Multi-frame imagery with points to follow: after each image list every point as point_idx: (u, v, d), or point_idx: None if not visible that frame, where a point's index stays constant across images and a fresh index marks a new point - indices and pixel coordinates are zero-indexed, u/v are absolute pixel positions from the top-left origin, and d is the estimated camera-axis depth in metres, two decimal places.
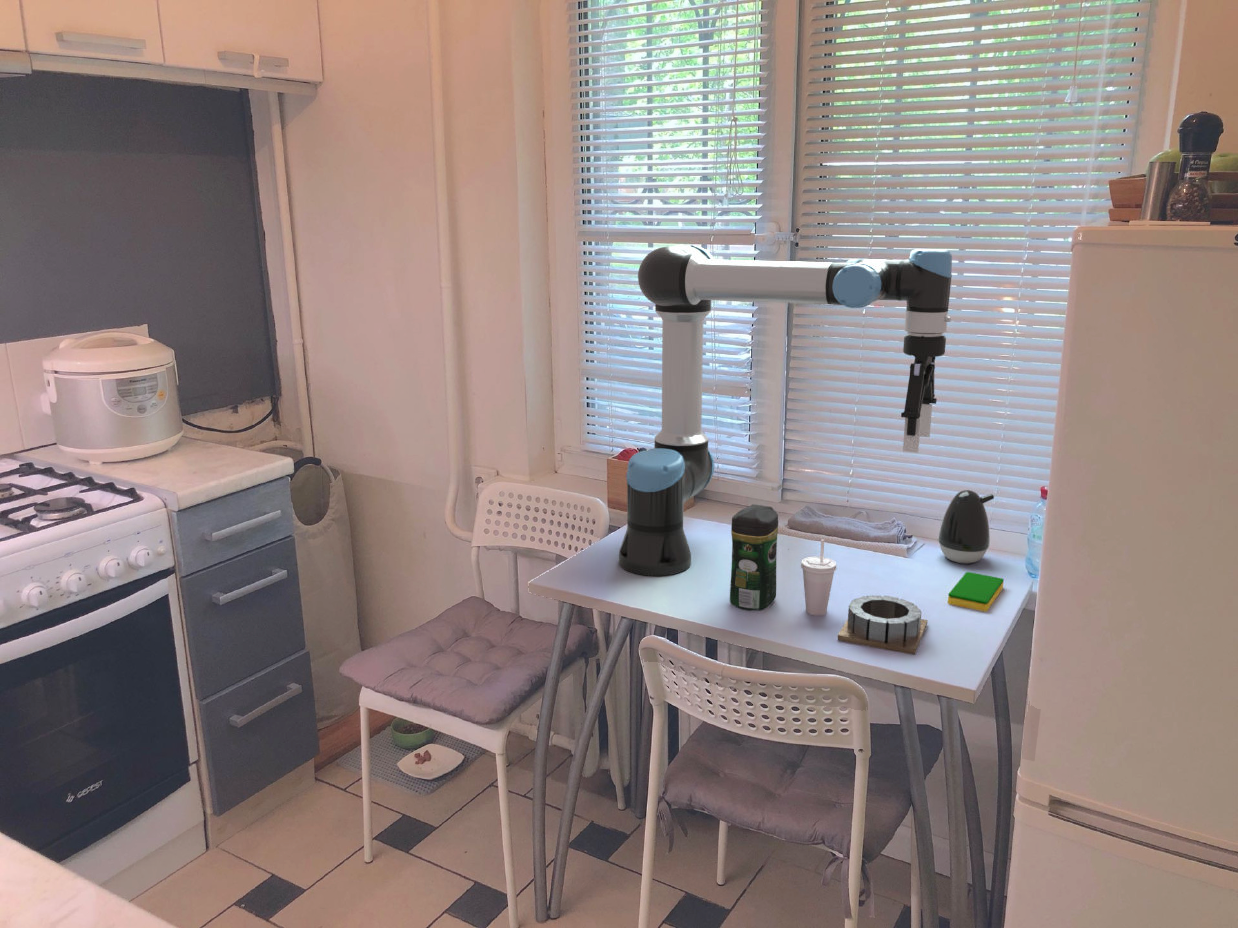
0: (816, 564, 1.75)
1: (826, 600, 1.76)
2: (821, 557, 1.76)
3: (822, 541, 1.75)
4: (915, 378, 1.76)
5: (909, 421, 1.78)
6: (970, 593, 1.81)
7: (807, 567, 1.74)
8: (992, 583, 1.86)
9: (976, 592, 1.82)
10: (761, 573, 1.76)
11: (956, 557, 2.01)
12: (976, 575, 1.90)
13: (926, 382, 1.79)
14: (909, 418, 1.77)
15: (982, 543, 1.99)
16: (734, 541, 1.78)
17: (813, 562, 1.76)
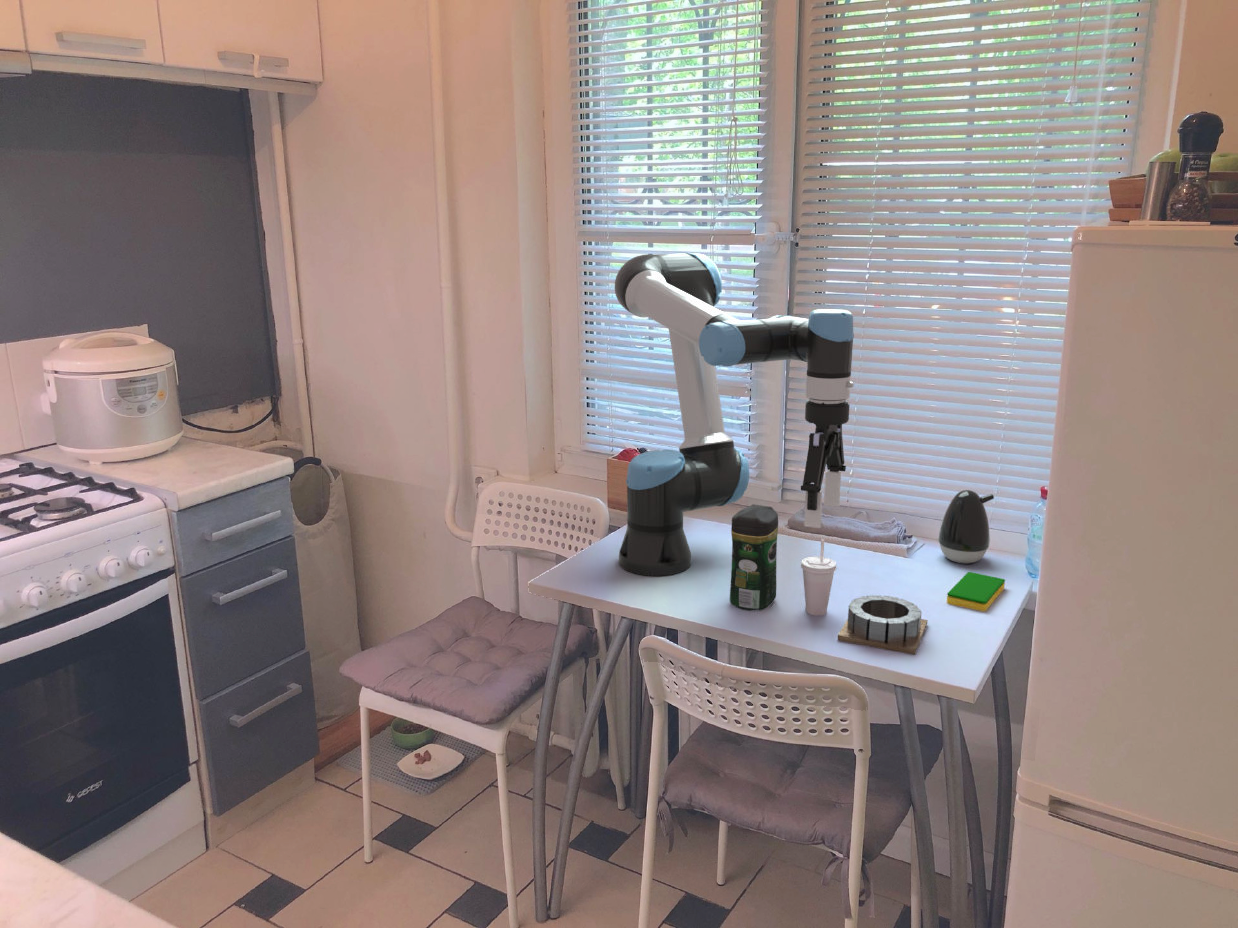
0: (816, 564, 1.75)
1: (826, 600, 1.76)
2: (821, 557, 1.76)
3: (822, 541, 1.75)
4: (814, 449, 1.64)
5: (809, 495, 1.65)
6: (969, 593, 1.82)
7: (807, 567, 1.74)
8: (993, 583, 1.86)
9: (975, 592, 1.82)
10: (761, 573, 1.76)
11: (956, 557, 2.01)
12: (977, 575, 1.90)
13: (828, 452, 1.66)
14: (809, 492, 1.65)
15: (982, 543, 1.99)
16: (734, 541, 1.78)
17: (813, 562, 1.76)
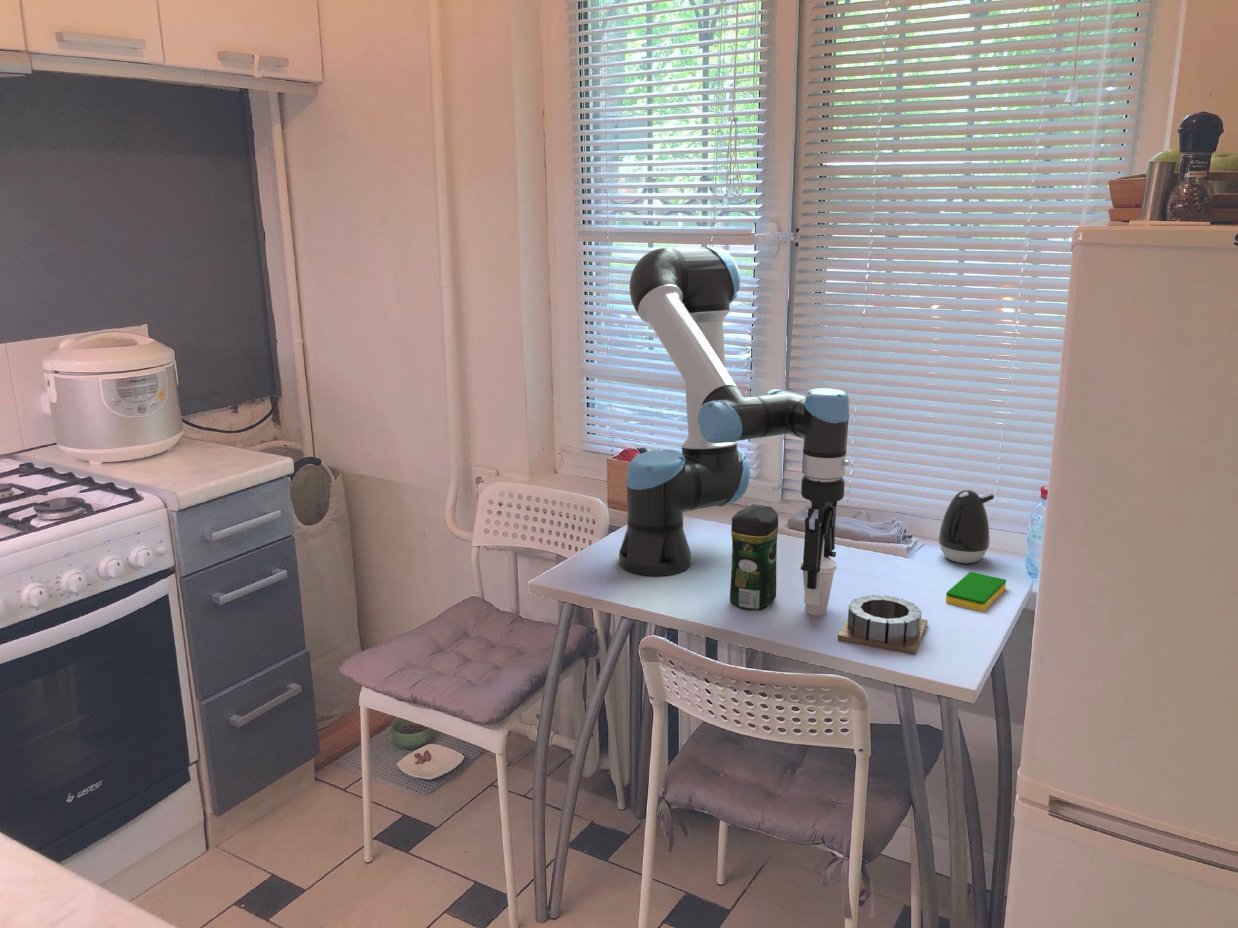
0: None
1: (826, 600, 1.76)
2: (821, 557, 1.76)
3: None
4: (811, 533, 1.69)
5: (809, 574, 1.72)
6: (968, 593, 1.82)
7: None
8: (993, 584, 1.86)
9: (975, 592, 1.82)
10: (761, 573, 1.76)
11: (956, 557, 2.01)
12: (979, 575, 1.90)
13: (824, 531, 1.71)
14: (809, 572, 1.72)
15: (982, 543, 1.99)
16: (734, 541, 1.78)
17: None
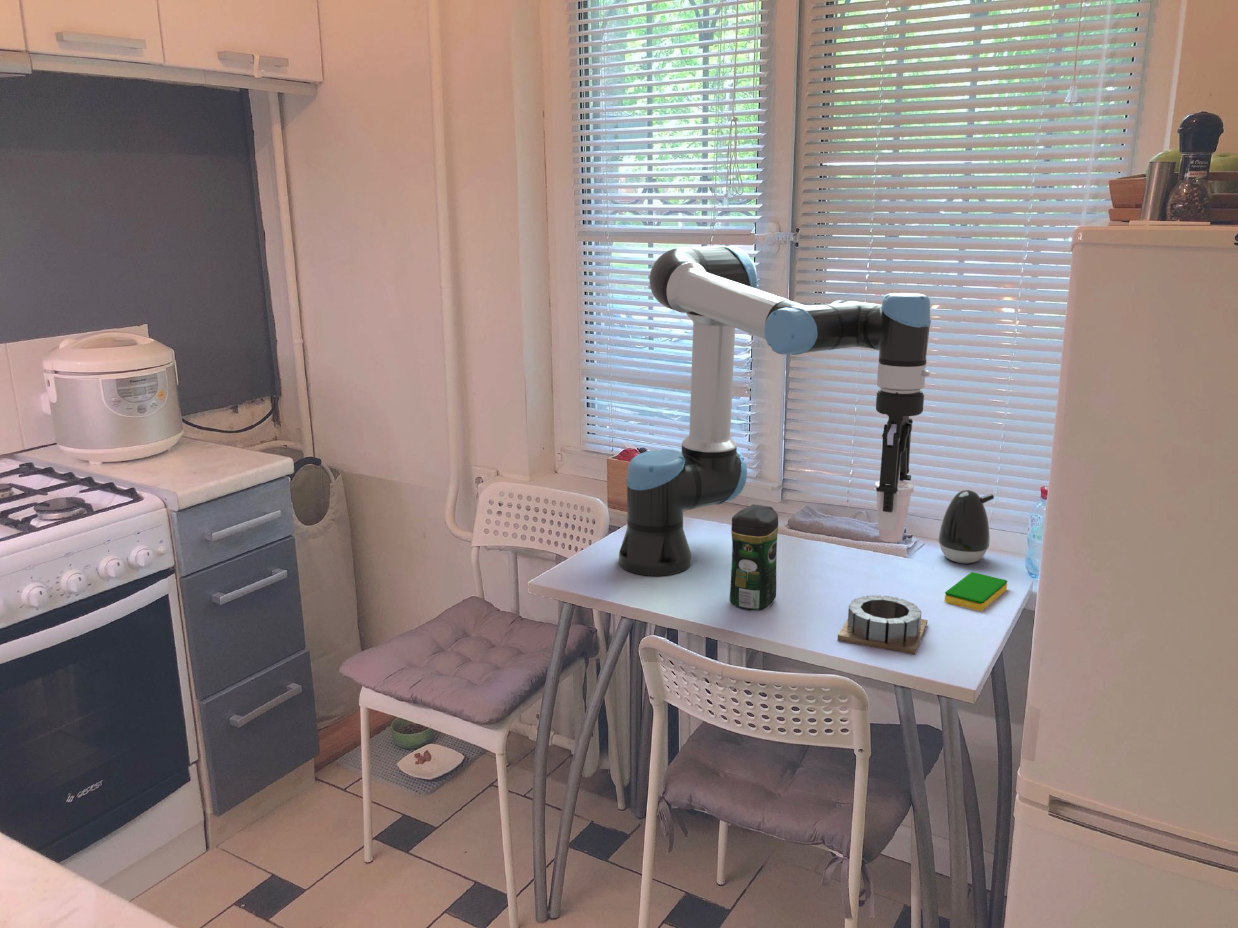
0: None
1: (902, 525, 1.63)
2: None
3: None
4: (889, 449, 1.55)
5: (885, 496, 1.58)
6: (967, 592, 1.82)
7: None
8: (994, 584, 1.86)
9: (974, 591, 1.82)
10: (761, 573, 1.76)
11: (956, 557, 2.01)
12: (980, 575, 1.90)
13: (902, 449, 1.58)
14: (885, 493, 1.58)
15: (982, 543, 1.99)
16: (734, 541, 1.78)
17: (888, 484, 1.62)
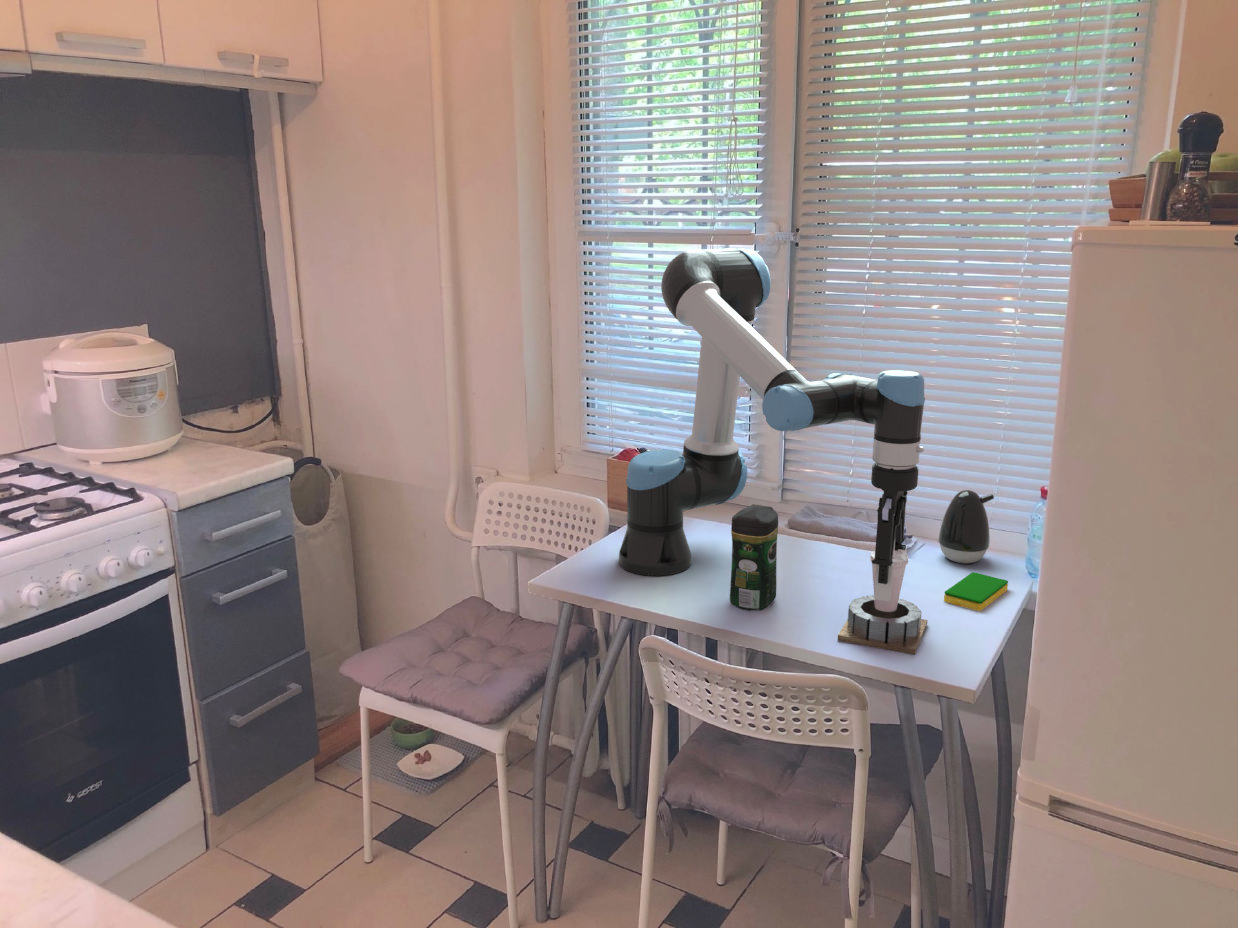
0: None
1: (897, 595, 1.66)
2: None
3: None
4: (884, 524, 1.58)
5: (880, 568, 1.62)
6: (967, 592, 1.82)
7: None
8: (994, 584, 1.86)
9: (974, 591, 1.82)
10: (761, 573, 1.76)
11: (956, 557, 2.01)
12: (981, 576, 1.90)
13: (897, 522, 1.61)
14: (880, 565, 1.61)
15: (982, 543, 1.99)
16: (734, 541, 1.78)
17: None
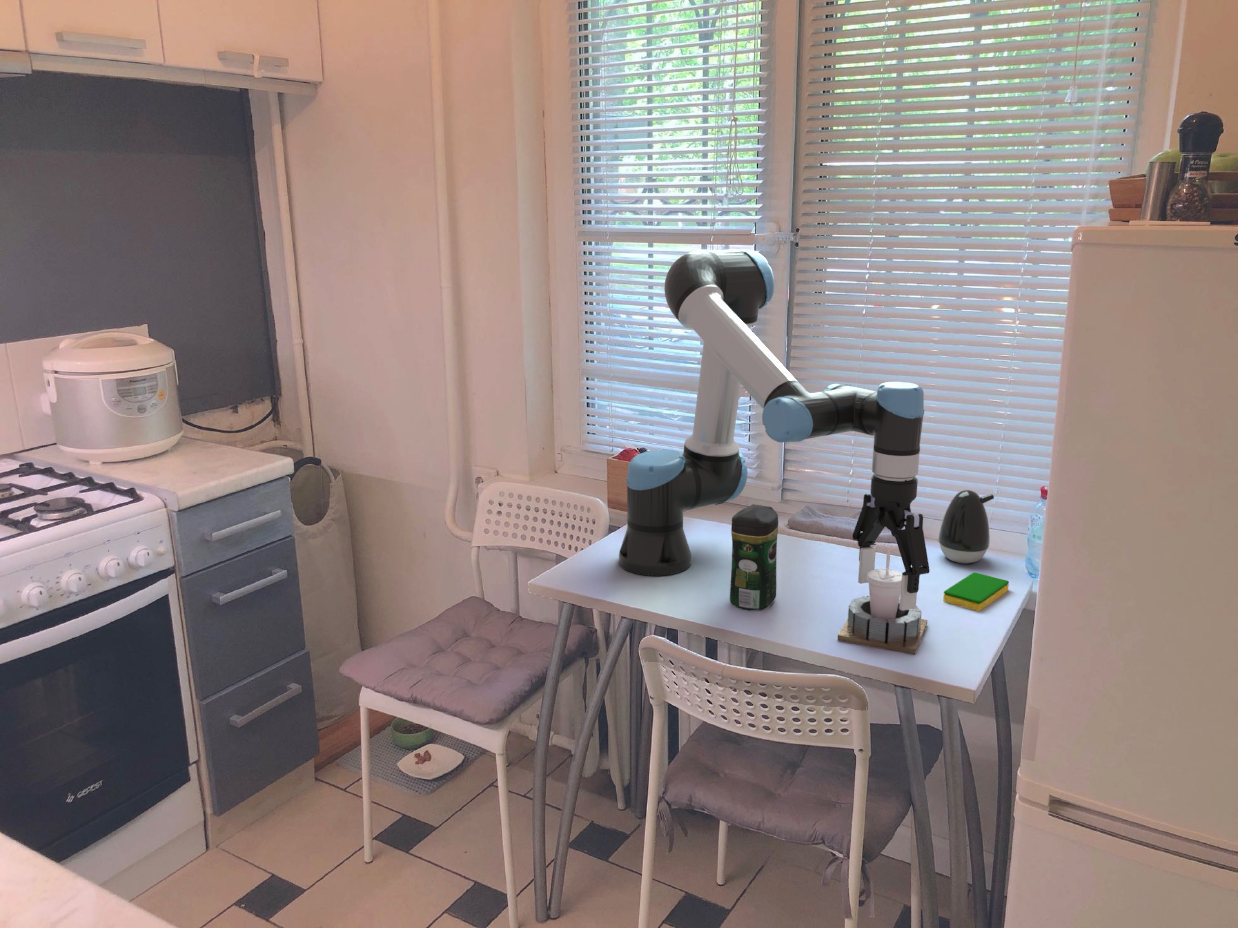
0: (889, 577, 1.66)
1: None
2: (888, 569, 1.67)
3: (889, 552, 1.66)
4: (916, 531, 1.58)
5: (913, 578, 1.59)
6: (966, 592, 1.82)
7: (888, 583, 1.64)
8: (994, 584, 1.86)
9: (973, 591, 1.82)
10: (761, 573, 1.76)
11: (956, 557, 2.01)
12: (981, 576, 1.90)
13: None
14: (914, 575, 1.59)
15: (982, 543, 1.99)
16: (734, 541, 1.78)
17: (884, 576, 1.66)
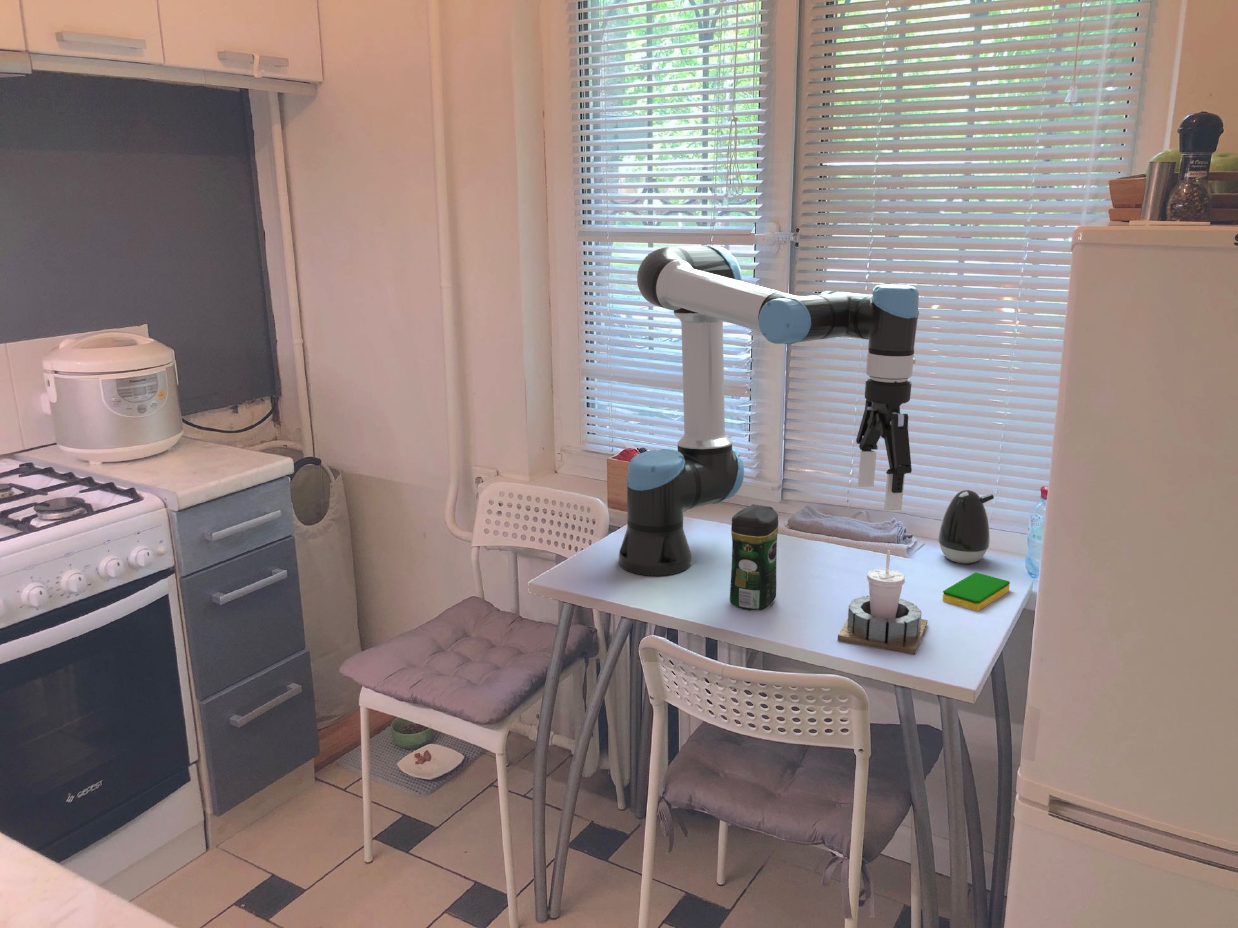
0: (889, 577, 1.66)
1: None
2: (888, 569, 1.67)
3: (889, 552, 1.66)
4: (900, 430, 1.58)
5: (897, 478, 1.59)
6: (965, 592, 1.82)
7: (888, 583, 1.64)
8: (995, 584, 1.85)
9: (972, 591, 1.82)
10: (761, 573, 1.76)
11: (956, 557, 2.01)
12: (983, 576, 1.90)
13: None
14: (897, 474, 1.59)
15: (982, 543, 1.99)
16: (734, 541, 1.78)
17: (884, 576, 1.66)
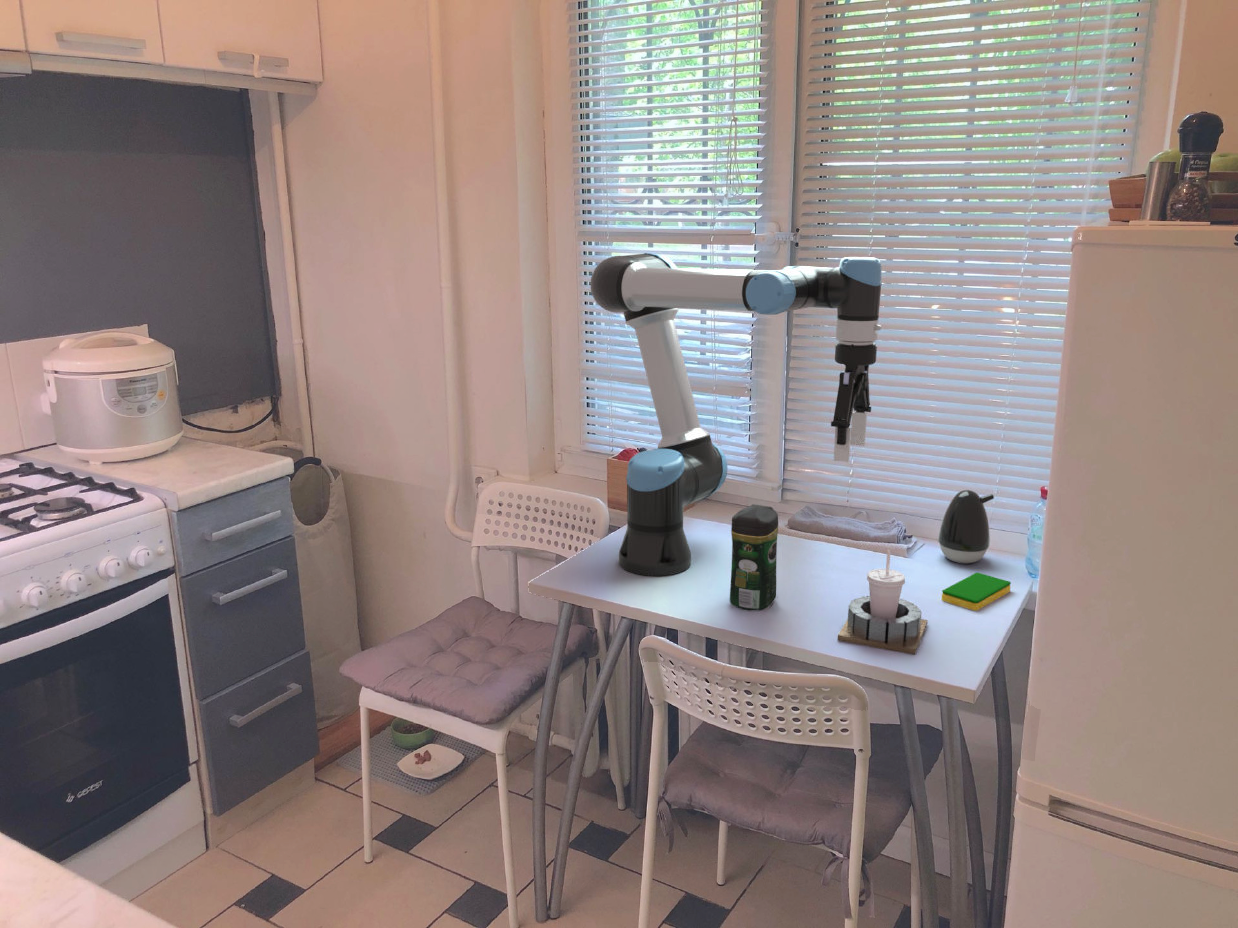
0: (889, 577, 1.66)
1: None
2: (888, 569, 1.67)
3: (889, 552, 1.66)
4: (844, 387, 1.75)
5: (839, 430, 1.76)
6: (965, 592, 1.82)
7: (888, 583, 1.64)
8: (995, 585, 1.85)
9: (972, 591, 1.82)
10: (761, 573, 1.76)
11: (956, 557, 2.01)
12: (984, 576, 1.90)
13: (856, 391, 1.78)
14: (839, 427, 1.76)
15: (982, 543, 1.99)
16: (734, 541, 1.78)
17: (884, 576, 1.66)
